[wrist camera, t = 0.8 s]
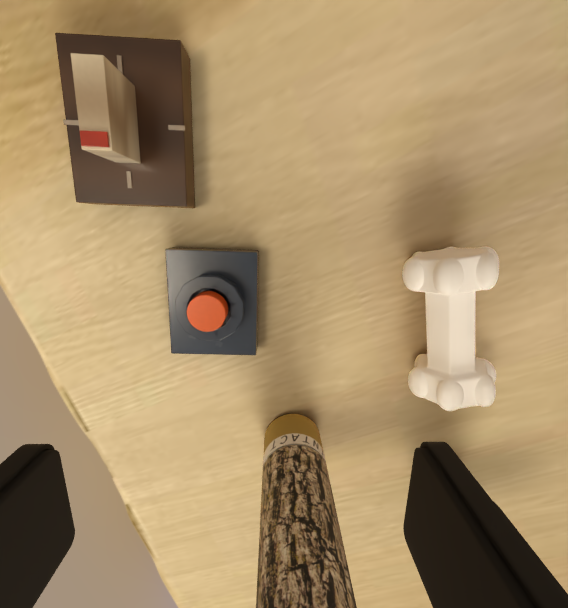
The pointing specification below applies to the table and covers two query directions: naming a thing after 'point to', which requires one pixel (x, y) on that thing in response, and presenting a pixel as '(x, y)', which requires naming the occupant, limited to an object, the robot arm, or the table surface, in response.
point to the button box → (223, 280)
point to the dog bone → (452, 325)
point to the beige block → (105, 109)
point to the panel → (151, 123)
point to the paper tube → (299, 523)
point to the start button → (207, 311)
